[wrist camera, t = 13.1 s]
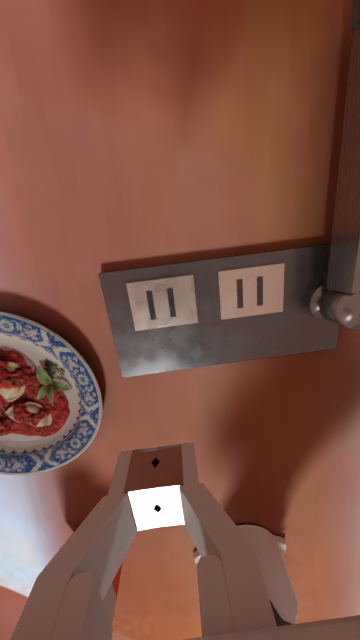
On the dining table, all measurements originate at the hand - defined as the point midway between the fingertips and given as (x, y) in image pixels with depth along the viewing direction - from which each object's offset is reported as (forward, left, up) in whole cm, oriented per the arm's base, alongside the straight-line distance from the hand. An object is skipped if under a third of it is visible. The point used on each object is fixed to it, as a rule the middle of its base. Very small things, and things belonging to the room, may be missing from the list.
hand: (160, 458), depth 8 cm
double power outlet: (0, -8, -19) cm, 21 cm away
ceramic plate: (-8, +23, -20) cm, 31 cm away
